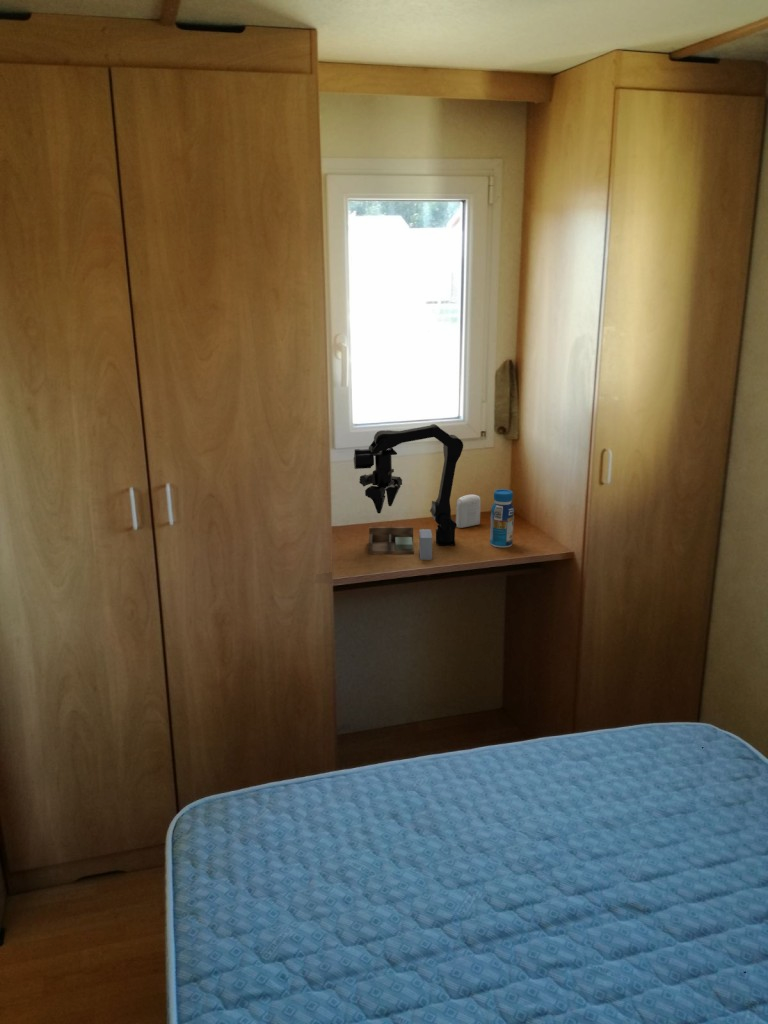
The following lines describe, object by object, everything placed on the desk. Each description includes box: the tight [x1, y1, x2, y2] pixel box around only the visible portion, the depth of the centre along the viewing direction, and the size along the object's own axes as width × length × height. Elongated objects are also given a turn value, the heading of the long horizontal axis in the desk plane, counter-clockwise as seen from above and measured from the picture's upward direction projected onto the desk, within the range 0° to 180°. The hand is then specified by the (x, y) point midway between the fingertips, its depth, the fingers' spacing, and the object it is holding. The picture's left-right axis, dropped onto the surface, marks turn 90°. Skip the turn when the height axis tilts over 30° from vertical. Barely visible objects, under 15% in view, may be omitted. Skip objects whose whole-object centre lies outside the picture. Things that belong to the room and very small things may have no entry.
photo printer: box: [455, 494, 482, 529], centre depth 305 cm, size 10×4×12 cm, turn 123°
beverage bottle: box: [489, 488, 515, 549], centre depth 283 cm, size 8×8×20 cm
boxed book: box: [418, 528, 433, 561], centre depth 274 cm, size 4×9×8 cm, turn 0°
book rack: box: [368, 526, 415, 555], centre depth 281 cm, size 16×12×6 cm
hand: (384, 509), depth 280 cm, fingers open, 9 cm apart
